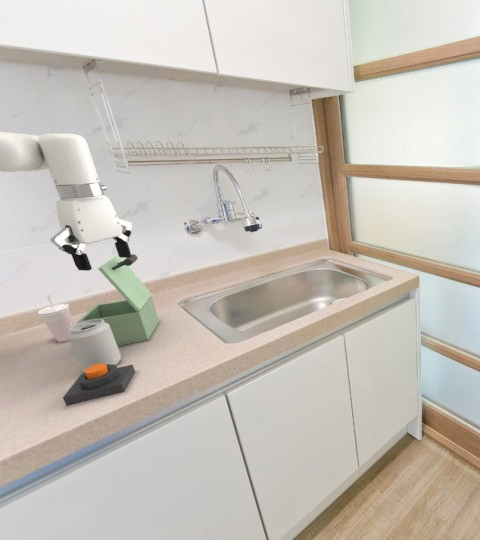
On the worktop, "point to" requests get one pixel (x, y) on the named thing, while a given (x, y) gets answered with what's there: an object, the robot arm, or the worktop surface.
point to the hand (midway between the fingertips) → (106, 263)
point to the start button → (96, 371)
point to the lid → (126, 281)
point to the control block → (100, 385)
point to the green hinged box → (126, 320)
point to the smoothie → (57, 320)
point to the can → (93, 343)
